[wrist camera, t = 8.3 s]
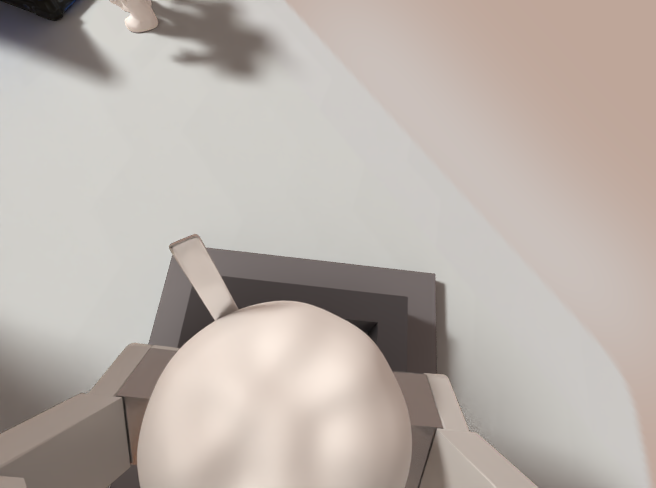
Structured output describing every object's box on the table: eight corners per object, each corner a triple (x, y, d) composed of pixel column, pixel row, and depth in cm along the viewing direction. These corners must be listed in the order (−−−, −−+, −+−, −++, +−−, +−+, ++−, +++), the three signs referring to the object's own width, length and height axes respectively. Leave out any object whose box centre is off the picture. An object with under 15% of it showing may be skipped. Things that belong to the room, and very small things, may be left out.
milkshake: (309, 312, 15) (321, 181, 6) (374, 444, 14) (524, 539, 4) (200, 365, 14) (19, 304, 5) (257, 515, 13) (137, 826, 3)
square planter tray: (97, 565, 18) (45, 609, 14) (179, 250, 24) (158, 222, 20) (432, 594, 18) (466, 643, 15) (430, 278, 24) (453, 257, 21)
